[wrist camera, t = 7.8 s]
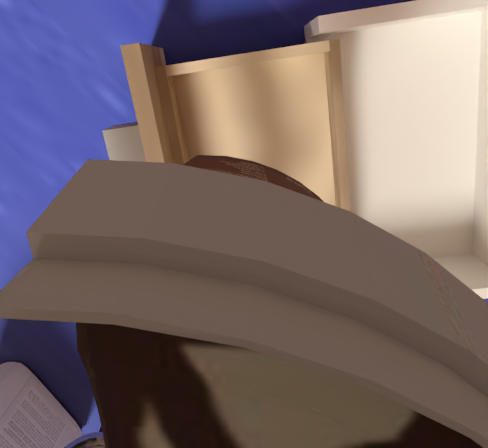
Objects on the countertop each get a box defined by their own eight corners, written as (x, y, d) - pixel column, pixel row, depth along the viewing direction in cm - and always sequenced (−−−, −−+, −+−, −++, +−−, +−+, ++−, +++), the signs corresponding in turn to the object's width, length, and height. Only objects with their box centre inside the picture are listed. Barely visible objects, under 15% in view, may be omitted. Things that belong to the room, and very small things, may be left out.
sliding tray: (167, 296, 35) (150, 347, 29) (111, 56, 29) (73, 53, 22) (344, 274, 34) (366, 321, 28) (325, 22, 28) (348, 9, 22)
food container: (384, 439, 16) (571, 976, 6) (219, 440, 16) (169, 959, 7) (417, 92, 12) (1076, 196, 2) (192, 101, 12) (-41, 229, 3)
